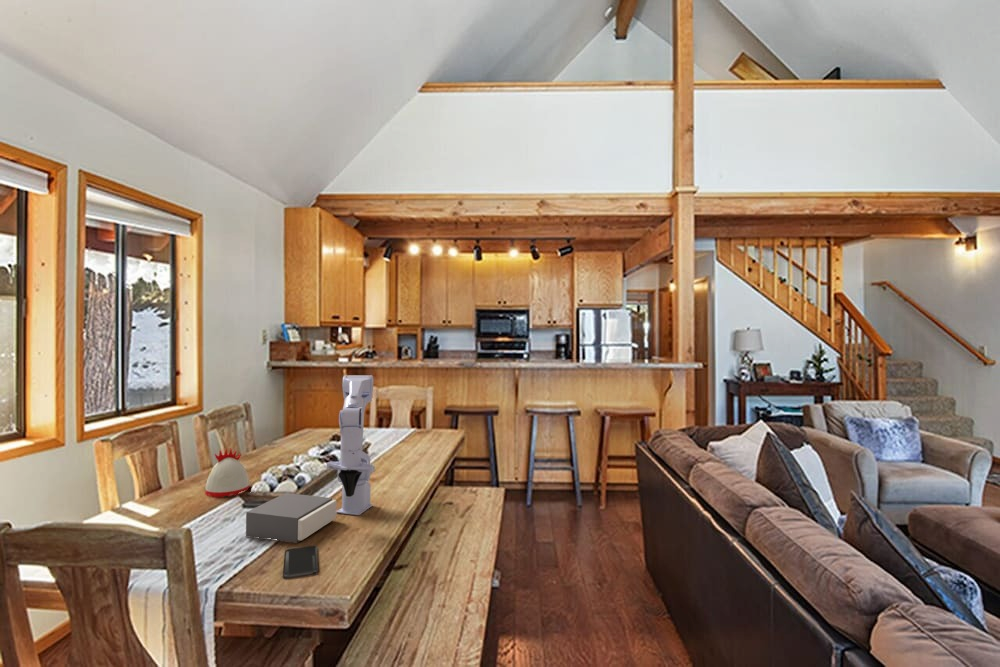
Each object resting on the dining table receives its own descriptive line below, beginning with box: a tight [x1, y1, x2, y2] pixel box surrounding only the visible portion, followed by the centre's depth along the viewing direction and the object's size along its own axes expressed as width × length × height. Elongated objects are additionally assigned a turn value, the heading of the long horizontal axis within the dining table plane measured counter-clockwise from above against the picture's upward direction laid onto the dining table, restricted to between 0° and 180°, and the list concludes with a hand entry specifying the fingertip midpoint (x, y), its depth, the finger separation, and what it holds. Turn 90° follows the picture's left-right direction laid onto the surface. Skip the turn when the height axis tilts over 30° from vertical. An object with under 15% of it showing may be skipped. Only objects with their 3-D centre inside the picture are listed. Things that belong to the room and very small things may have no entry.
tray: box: [298, 499, 337, 542], centre depth 146 cm, size 16×17×5 cm
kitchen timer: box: [204, 447, 251, 498], centre depth 179 cm, size 14×14×15 cm
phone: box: [282, 545, 319, 580], centre depth 126 cm, size 8×1×15 cm
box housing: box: [245, 492, 333, 544], centre depth 147 cm, size 16×17×7 cm
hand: (350, 495), depth 148 cm, fingers closed
